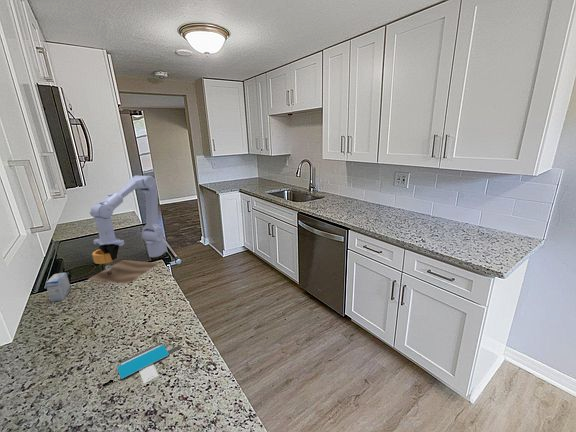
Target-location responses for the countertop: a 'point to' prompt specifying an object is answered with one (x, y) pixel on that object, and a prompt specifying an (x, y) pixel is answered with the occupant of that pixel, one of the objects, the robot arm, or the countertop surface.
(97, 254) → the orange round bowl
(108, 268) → the hook post
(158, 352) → the blue panel with block
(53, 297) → the medicine box
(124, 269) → the walnut board
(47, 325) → the countertop surface
